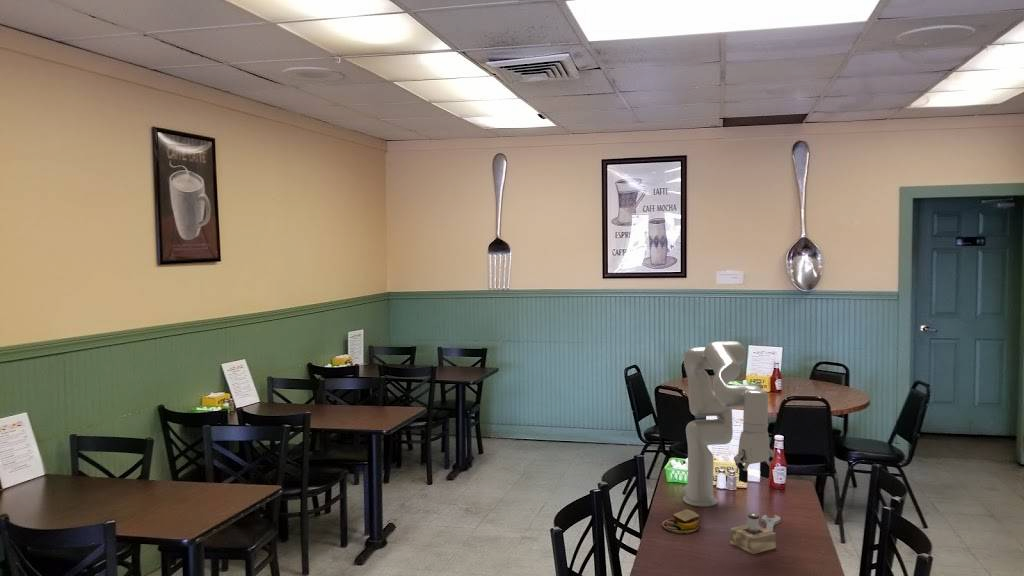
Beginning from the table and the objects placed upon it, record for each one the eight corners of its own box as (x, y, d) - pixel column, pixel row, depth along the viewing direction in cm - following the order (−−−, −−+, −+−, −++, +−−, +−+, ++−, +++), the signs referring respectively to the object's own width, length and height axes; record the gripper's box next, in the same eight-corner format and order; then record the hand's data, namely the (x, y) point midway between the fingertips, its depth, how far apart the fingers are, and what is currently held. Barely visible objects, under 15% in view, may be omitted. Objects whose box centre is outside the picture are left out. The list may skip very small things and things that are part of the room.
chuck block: (730, 543, 251) (730, 528, 250) (752, 537, 255) (752, 523, 255) (753, 554, 242) (753, 538, 242) (775, 548, 247) (775, 533, 246)
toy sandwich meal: (655, 524, 269) (655, 511, 268) (688, 519, 273) (688, 506, 273) (674, 536, 257) (674, 523, 256) (708, 532, 261) (708, 518, 261)
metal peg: (745, 541, 249) (745, 513, 249) (753, 540, 251) (753, 511, 250) (753, 545, 246) (753, 516, 246) (760, 543, 248) (761, 514, 247)
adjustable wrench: (771, 545, 250) (771, 540, 250) (751, 542, 253) (751, 536, 253) (781, 520, 273) (781, 515, 273) (762, 517, 276) (762, 512, 276)
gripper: (765, 422, 254) (764, 472, 255) (727, 428, 246) (726, 480, 247) (783, 427, 247) (781, 478, 248) (744, 433, 239) (743, 486, 240)
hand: (754, 479), depth 248 cm, fingers open, 9 cm apart
